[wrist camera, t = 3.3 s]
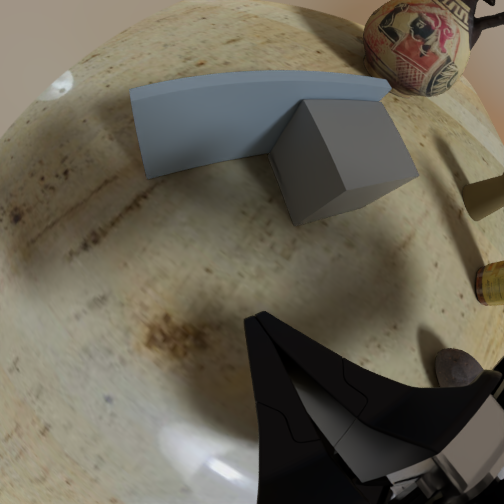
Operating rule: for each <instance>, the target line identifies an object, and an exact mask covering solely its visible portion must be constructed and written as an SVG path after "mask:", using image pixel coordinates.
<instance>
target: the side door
mask: <svg viewBox="0 0 504 504" xmlns="http://www.w3.org/2000/svg"><path fill="white" fill-rule="evenodd" d="M391 89H392V88H391V86H390V85H389V83H388V82H387V80H386V79H380V78H374V77H368V76H360V75H352V74H343V73H333V72H319V71H296V70H267V71H243V72H229V73H218V74H209V75H201V76H194V77H187V78H181V79H175V80H169V81H164V82H159V83H154V84H149V85H145V86H140V87H136V88H132V89H129V91H130V99H131V105H132V111H133V116H134V122H135V127H136V132H137V137H138V142H139V146H140V151H141V156H142V160H143V164H144V169H145V173H146V177H147V179H151V178H154V177H158V176H162V175H166V174H170V173H174V172H178V171H182V170H186V169H190V168H194V167H199V166H203V165H208V164H212V163H217V162H222V161H227V160H232V159H237V158H243V157H248V156H254V155H259V154H265V153H270V152H271V150H272V149H273V147H274V145H275V144H276V142H277V140H278V139H279V137H280V136H281V134H282V132H283V131H284V129H285V128H286V126H287V124H288V123H289V121H290V120H291V118H292V117H293V115H294V113H295V112H296V110H297V109H298V107H299V106H300V104H301V102H302V101H303V100H307V99H335V100H361V101H376V102H379V101H380V100H381V99H382V98H383V97H384V96H385V95H386V94H387V93H388V92H389V91H390V90H391Z"/></svg>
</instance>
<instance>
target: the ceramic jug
mask: <svg viewBox="0 0 504 504" xmlns="http://www.w3.org/2000/svg"><path fill="white" fill-rule="evenodd" d="M483 1H485V2H486V3H488V4H489V5H491V6H494V5H495V0H483ZM477 2H478V0H391V1H389V2H387V3H385V4H384V5H382V6H381V7H380V8H378V9H377V10H376V11H374V12H373V14H372V15H371V16H370V18H369V19H368V21H367V23H366V25H365V29H364V33H363V43H364V49H365V54H366V55H365V58H364V65H365V68H366V69H367V71H368V73H369V74H370V75H371V76H372V77H374V78H380V79H386V80H387V82H388V83H389V85H390V86H391V88H392V89H391V90H390V91H389V92H391V93H393V94H395V95H397V96H401V97H405V98H410V97H411V95H416V96H425V97H430V96H436V95H439V94H442V93H444V92H446V91H447V90H449V89H450V88H451V87H452V86H453V85H454V84H455V83H456V82H457V81H458V80H459V78H460V77H461V76H462V74H463V72H464V70H465V68H466V65H467V62H468V59H469V56H470V51H471V49H472V47H473V46H474V44H475V43H476V41H477V40H478V38H479V36H480V34H481V32H482V30H484V29H487V28H491V27H496V26H499V25H502V24H504V12H502V13H498V14H496V15H492V16H485V17H480V18H475V17H474V14H475V9H476V4H477Z"/></svg>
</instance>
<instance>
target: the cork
mask: <svg viewBox="0 0 504 504" xmlns="http://www.w3.org/2000/svg"><path fill="white" fill-rule="evenodd" d="M463 200H464V204H465V207H466V209H467V211H468V213H469V215H470V216H471V218H472V219H473V220H475V221H479V220H481V219H482V218H484V217H486V216H488V215H490V214H491V213H493V212H495V211H497V210H498V209H500V208H502V207H504V173H503V175H502V176H498V177H494V178H490V179H487V180H483V181H479V182H476V183H472V184H468V185H465V186H464V187H463Z"/></svg>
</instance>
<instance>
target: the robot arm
mask: <svg viewBox="0 0 504 504" xmlns="http://www.w3.org/2000/svg"><path fill="white" fill-rule="evenodd" d="M243 322H244V329H245V336H246V343H247V350H248V357H249V364H250V371H251V377H252V384H253V391H254V397H255V402H256V403H255V404H256V411H257V419H258V431H259V481H258V495H257V504H504V356H503V357H502V358H501V359H500V360H499V361H498V363H497V364H496V365H495V366H494V368H493V369H492V370H483V371H482V372H481V373H480V374H479V375H478V376H477V377H476V378H475V379H474V380H473V381H472V382H471V383H470V384H469V385H466V386H458V387H436V388H418V387H411V386H407V385H404V384H402V383H399V382H396V381H394V380H391V379H389V378H386V377H383V376H381V375H378V374H376V373H374V372H371V371H369V370H367V369H364V368H362V367H360V366H358V365H357V364H355V363H353V362H351V361H349V360H347V359H346V358H342V356H340V355H338V354H337V353H335V352H333V351H331V350H330V349H328V348H326V347H325V346H323V345H321V344H319V343H318V342H316V341H314V340H313V339H311V338H309V337H307V336H306V335H304V334H302V333H301V332H299V331H297V330H296V329H294V328H292V327H291V326H289V325H287V324H286V323H284V322H283V321H281V320H279V319H278V318H276V317H274V316H273V315H271V314H269V313H268V312H266V311H262V312H260V313H257V314H255V315H254V316H250V317H248V318H245V319H244V320H243Z"/></svg>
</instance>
